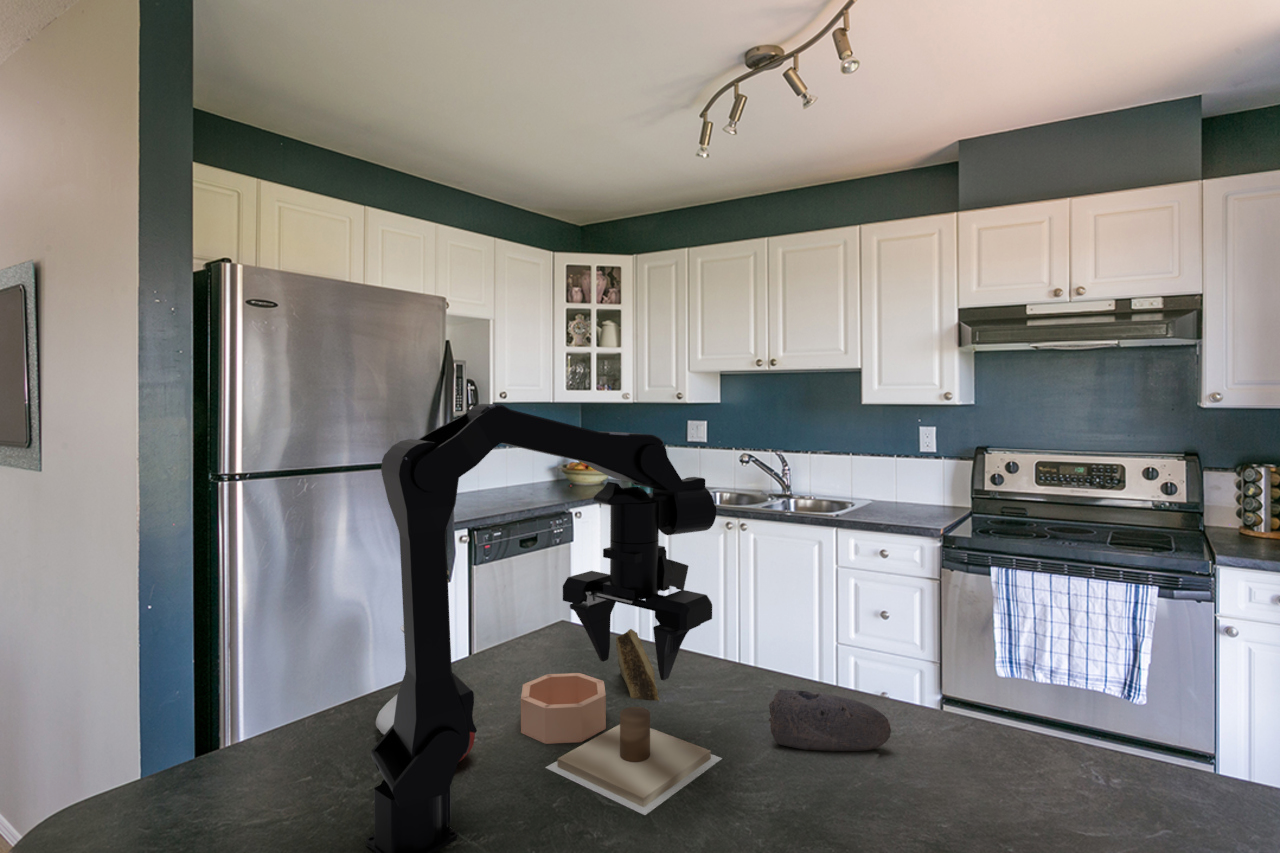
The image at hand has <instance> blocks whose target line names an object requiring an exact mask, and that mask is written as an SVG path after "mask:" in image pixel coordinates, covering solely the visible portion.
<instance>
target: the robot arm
mask: <svg viewBox="0 0 1280 853" xmlns="http://www.w3.org/2000/svg"><path fill="white" fill-rule="evenodd" d="M664 443H665V441H664V440H662V438H660V437H658V436H656V435H654V434H648V433H636V432H635V433H633V432H619V431H618V432H616V431H599V430H593V429H588V428H585V427H580V426H576V425H573V424H569V423H565V422H561V421H556V420H554V419H549V418H545V417H541V416H538V415H534V414H530V413H525V412H521V411H518V410H514V409H511V408H509V407H507V406H505V405H503V404H501V403H499V404H498V403H497V404H496V403H479V404H476V405H474V406H473V407H471V409H469V410H468V411H466V412H465V413H464V414H462V415H461V416H459V417H456V418H455V419H453V420H451V421H448V422H447V423H444V424H442V425H441V426H438V427H437V428H435V429H433V430H430V431H429V432H427V433H426V434H425V435H423V436H421V437H420V438H418V439H415V438H414V439H413V438H408V439H403V440H401V441H399V442H397V443H395V444H393V445H392V446H391V447H390V448H389V449H388V451H386V453H384V454H383V457H382V461H381V465H380V466H381V468H380V471H381V477H382V480H383V485H384V489H385V494H386V497H387V502H388V504H389V508H390V510H391V513H392V516H393V519H394V521H395V525H396V527H397V529H398V530H397V531H398V533H399V549H400V550H399V551H400V571H401V574H400V575H401V594H402V612H403V613H402V617H403V625H404V633H403V637H404V638H403V639H404V657H405V658H404V660H405V670H404V675H403V678H402V680H401V683H400V686H399V689H398V693H397V694H398V695H397V694H396V695H397V702H396V709H395V717H394V724H393V725H392V726H391V728H390V729H389V730H388V731H387V732H386V734H385V735H384V734H383V736H382V737H381V738H380V740H379V741H378V742H377V743H376V744H375V745H374V747H373V748H372V749H371V750H370V756H371V758H372V761H373V763H374V764H375V768H376V770H377V771H379V773H380V774H381V776H382V777H383V779H382V781H381V784H379V785H377V786H375V787H374V788H373V789H374V790H373V794H374V796H373V797H374V798H373V799H374V806H373V807H374V810H373V811H374V834H371V835H370V836H368V837H366V839H365V846H367V847H368V848H369V849H371V850H372V851H373V852H374V853H435V852H437V851H439V850H441V849H442V848H444V847H446V846H448V845H449V844H451V843H453V842H455V841H456V840H457V839H458V832H457V831H456V830H455V829H453V828H452V827H450V825H451V822H452V802H451V801H452V799H451V798H452V796H451V795H452V792H451V791H452V790H451V788H452V787H451V786H452V781H453V779H454V776H455V773H456V770H457V767H458V764H459V763H460V762H461V761H462V760H461V758H462V757H463V755H465V754H466V753H467V751H468V749H469V745H470V732H473V733H475V734H476V733H477V731H478V730H477V727H476V725H475V723H474V718H473V714H474V713H473V711H474V703H475V696H474V695H475V694H474V691H473V690H472V689H471V687H470V686H468V685H467V684H466V683H465V682H464V681H463V680H461V678H460V677H459V676H457V675H456V674H455V673H454V672H453V669H452V652H451V650H452V647H451V643H452V642H451V625H450V602H449V601H450V598H449V582H448V580H449V579H448V576H449V574H448V572H447V570H448V555H447V551H448V550H447V530H448V527H449V525H450V521H451V519H452V516H453V512H454V510H455V506H456V505H457V504H456V503H457V495H458V487H459V482H460V481H459V479H460V478H461V477H462V476H463V475H465V474H467V473H468V472H470V471H471V470H472V469H474V468H475V467H476V466H478V465H479V463H481V462H482V461H483V460H484V459H485V458H486V457H487V456H488V454H489V453H491V452H492V451H493V450H494V448H496V447H498V446H499V445H500V444H501V445H505V446H509V447H515V448H518V449H524V450H527V451H532V452H536V453H542V454H546V455H551V456H554V457H560V458H563V459H568V460H573V461H578V462H579V463H581V464H584V465H587V466H588V467H590V468H591V469H593V470H594V471H597V472H599V473H601V474H603V475H606V476H608V477H610V478H613V479H615V480H619V481H626V482H629V483H631V484H633V485H634V486H630V487H629V486H628V487H621V485H620V484H619V483H617V482H611V481H607V482H606V483H605V486H603V488H602V489H601V490H599V491H598V492H597V493H596V494H595V495H594V496H593V501H595V502H596V503H601V504H603V505H604V504H605V505H608V506H610V520H609V521H610V523H609V524H610V526H609V527H610V532H609V534H610V536H609V538H610V540H609V541H610V544H609V547H605V548H602V557H603V558H605V559H609V560H610V561H609V567H610V568H609V569H610V571H609V573H605V572H599V571H595V570H589V571H586V572H583V573H579V574H575V575H571V576H568V577H567V578H566V580H565V581H564V583H563V584H562V601H563V602H565V603H570V604H569V609H570V610H572V611H574V612H575V614H576V615H577V618H578V619H579V621H580V623H581V625H582V627H583V628H584V630H585V632H586V634H587V636H588V638H589V639H590V641H591V644H592V646H593V648H594V650H595V652H596V653H597V654H596V655H597V656H598V659H599V660H600V661H601V662H606V661H608V660H609V656H610V651H611V650H610V648H611V617H612V615H611V614H612V612H613V610H614V608H615V605H616V603H621V604H624V605H627V606H632V607H637V608H640V609H644V610H649V611H653V612H654V618H655V619H656V621H657V623H658V624H657V625H655V626H653V627H652V630H653V637H654V644H655V652H656V660H657V668H658V669H657V670H658V673H659V678H660V681H663V682H664V681H667V680H668V679H669V678H670V676H671V673H672V670H673V668H674V665H675V662H676V659H677V656H678V654H679V651H680V648H681V645H682V644H683V642H684V639H685V638H686V635H688V633H689V632H690V631H691V630H693V629H695V628H697V627H699V626H701V624H704V623H706V622H709V621H710V620H712V619H713V604H712V601H711V599H710V597H709V596H708V594H706V593H705V594H704V593H700V592H696V591H695V592H694V591H690V590H685V586H686V581H687V576H688V570H689V565H688V564H685V563H682V562H679V561H676V560H672V559H670V558H667V557H668V556H667V549H666V546H663V545H659V544H660V543H659V541H660V540H659V539H660V538H659V534H660V532H661V533H662V534H663V535H665V536H672V535H681V534H688V533H689V534H690V533H697V532H704V531H708V530H710V529H711V528H712V527H713V525H714V523H715V520H716V517H717V506H716V505H715V500H714V498H713V495H712V494H711V492H710V491H709V490H708V488H707V487H706V478H704V477H697V476H689V477H686V478H681V476H680V474H679V473H678V472H677V470H676V468H675V467H674V465H673V463H672V462H671V460H670V459H669V457H668V454H667V453H668V451H667V448H666V447H665V444H664ZM642 487H643V488H642ZM644 487H645V488H650V489H652V492H647V491H646V490H645V489H644ZM670 587H673V588H675V589H676V590H678V591H676V592H672V593H670V594H666V595H664V594H659V591H662V592H665V591H668V590H670ZM460 760H461V761H460ZM459 761H460V762H459Z"/></svg>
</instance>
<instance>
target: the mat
mask: <svg viewBox="0 0 1280 853" xmlns="http://www.w3.org/2000/svg"><path fill="white" fill-rule="evenodd" d="M722 759H723V757H720V756H718V755H715V754H712V753H711V759H710V760H708V761H707V762H706V763H704V764H703V765H701V766H700V767H699V768H697V769H696V770H695V771H693V772H692V773H690V774H689V775H688V776H686V777H685V778H683V779H682V780H681V781H679V782H678V783H676V784H675V785H674V786H672V787H671V788H669V789H668V790H667V791H665V792H664V793H663V794H661V795H660V796H658V797H657V798H656V799H654V800H653V801H651V802H650V803H649V804H647V805H646V806H644V807H642V806H640V805H638V804H636V803H633V802H631V801H629V800H627V799H625V798H623V797H621V796H619V795H616V794H614V793H612V792H610V791H608V790H606V789H604V788H602V787H599V786H597V785H595V784H593V783H591V782H589V781H587V780H584V779H582V778H580V777H578V776H576V775H574V774H572V773H570V772H567V771H565V770H563V769H561V768H559V767H557V761H555V762H553V763H550V764H549V765H547V766H545V767H544V768H545V769H547V770H549V771H551V772H553V773H555V774H557V775H560V776H562V777H564V778H566V779H568V780H570V781H572V782H574V783H577V784H579V785H581V786H583V787H584V788H587V789H588V790H590V791H593V792H595V793H597V794H599V795H601V796H604V797H605V798H608V799H610V800H612V801H614V802H616V803H618V804H620V805H622V806H624V807H627V808H628V809H631V810H632V811H635V812H637V813H639V814H641V815H643V816H646V815H648V814H649V813H650V812H652V811H653V810H654V809H655V808H657V807H659V806H660V805H661V804H663V803H664V802H665V801H667V800H668V799H670V798H671V797H672V796H673V795H675V794H676V793H677V792H679V791H680V790H681V789H683V788H685V787H686V786H687V785H688V784H690V783H691V782H693V781H694V780H696V779H697V778H698V777H699V776H700V775H702V774H703V773H705V772H706V771H707V770H709V769H710V768H712V767H713V766H715V765H716V764H717V763H718V762H720V761H721V760H722Z"/></svg>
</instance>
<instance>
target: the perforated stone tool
mask: <svg viewBox="0 0 1280 853" xmlns="http://www.w3.org/2000/svg"><path fill="white" fill-rule="evenodd" d="M768 706H769V708H768V709H769V714H770V717H769V718H768V721H769V722H770V733H771V735H772V737H773V740H774V742H776V743H777V744H778V745H780V746H784V747H787V748H793V749H800V750H812V751H828V752H829V751H832V752H850V751H851V752H860V751H861V752H863V751H864V752H865V751H873V750H875V749H878V748H880V747H882V746H883V745H884V744H887V741H888V740H889V739H890V737H891V734H892V729H891V724H890V722H889V719H888V718H887V716H886V715H885V714H883V713H882V712H881V711H879V710H877V709H876V708H874V707H873V706H871V705H868V704H866V703H864V702H861V701H857V700H856V699H852V698H847V697H843V696H838V695H833V694H827V693H823V692H812V691H808V690H795V689H781V688H780V689H778V691H777V692H776V693H775V695H774V698H773V700H772V701H770V703H769V704H768Z"/></svg>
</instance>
